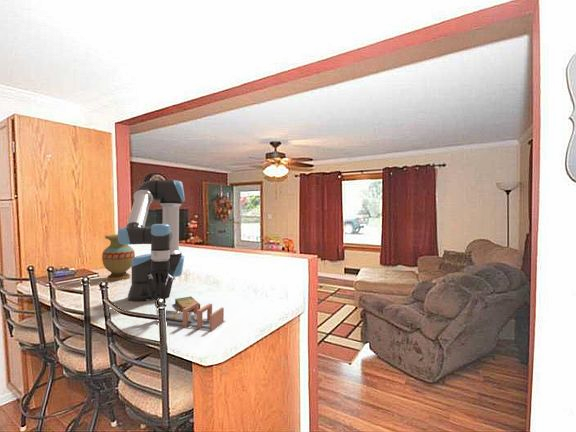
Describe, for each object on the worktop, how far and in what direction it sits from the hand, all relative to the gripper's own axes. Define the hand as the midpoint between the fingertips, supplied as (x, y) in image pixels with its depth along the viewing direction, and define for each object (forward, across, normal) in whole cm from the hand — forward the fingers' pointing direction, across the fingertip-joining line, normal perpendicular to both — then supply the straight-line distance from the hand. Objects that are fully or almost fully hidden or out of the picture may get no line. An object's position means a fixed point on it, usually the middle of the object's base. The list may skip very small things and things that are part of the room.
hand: (160, 314), depth 130 cm
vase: (+3, -81, +60) cm, 101 cm away
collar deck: (+3, +15, 0) cm, 15 cm away
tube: (+2, +9, 0) cm, 9 cm away
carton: (+4, +1, +18) cm, 19 cm away
